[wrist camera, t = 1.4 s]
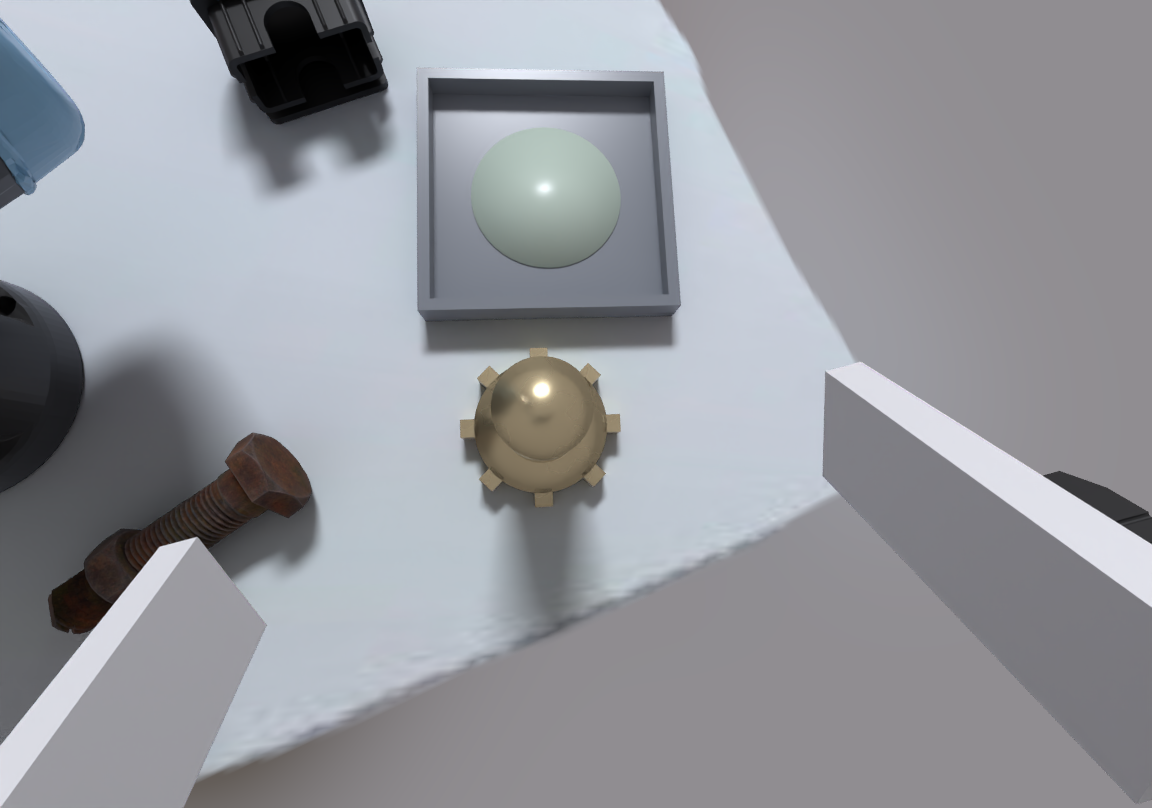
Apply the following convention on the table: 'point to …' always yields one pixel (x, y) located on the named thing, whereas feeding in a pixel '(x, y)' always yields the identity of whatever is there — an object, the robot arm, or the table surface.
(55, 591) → the bolt
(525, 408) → the toothed flange peg
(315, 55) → the end cap
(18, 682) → the table surface
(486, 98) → the carrier tray
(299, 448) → the table surface
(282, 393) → the table surface
